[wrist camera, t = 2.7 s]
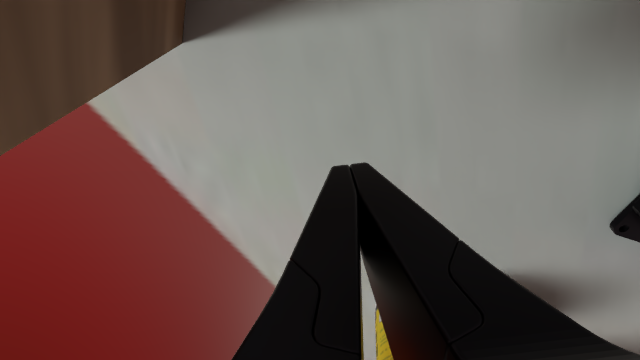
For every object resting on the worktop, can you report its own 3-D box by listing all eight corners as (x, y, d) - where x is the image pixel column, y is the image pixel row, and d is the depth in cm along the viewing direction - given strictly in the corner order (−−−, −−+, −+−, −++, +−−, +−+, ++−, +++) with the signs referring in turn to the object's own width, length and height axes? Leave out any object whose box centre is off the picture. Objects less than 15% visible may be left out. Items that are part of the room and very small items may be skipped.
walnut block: (191, -57, 15) (-123, -35, 5) (181, 43, 18) (-49, 186, 8) (89, -93, 15) (-450, -143, 5) (93, 13, 17) (-269, 123, 7)
